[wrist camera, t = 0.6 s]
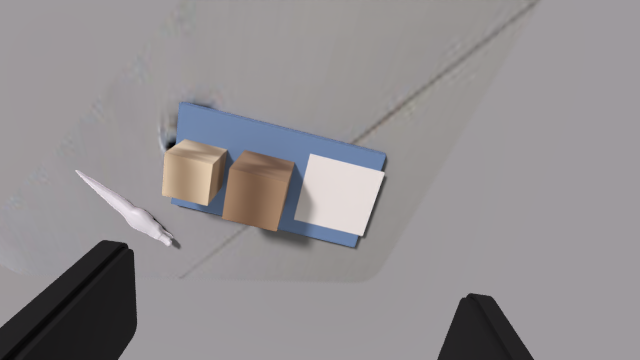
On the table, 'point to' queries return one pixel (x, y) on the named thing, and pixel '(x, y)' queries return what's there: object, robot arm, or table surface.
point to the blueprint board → (294, 172)
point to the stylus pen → (131, 212)
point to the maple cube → (193, 171)
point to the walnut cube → (257, 190)
